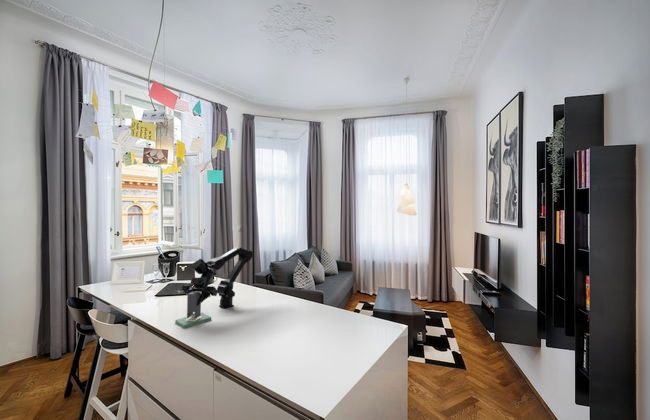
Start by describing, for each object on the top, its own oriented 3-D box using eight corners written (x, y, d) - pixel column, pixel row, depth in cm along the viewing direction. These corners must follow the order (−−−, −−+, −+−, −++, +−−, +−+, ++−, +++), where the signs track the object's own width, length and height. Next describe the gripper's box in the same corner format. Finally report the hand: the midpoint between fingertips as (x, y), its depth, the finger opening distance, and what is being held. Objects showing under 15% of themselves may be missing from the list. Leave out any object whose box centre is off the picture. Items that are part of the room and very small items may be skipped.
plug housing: (191, 315, 141) (192, 291, 141) (200, 315, 140) (201, 292, 141) (186, 317, 137) (187, 293, 137) (195, 318, 136) (196, 294, 137)
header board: (201, 315, 147) (202, 308, 147) (211, 319, 141) (211, 312, 141) (175, 323, 136) (175, 315, 136) (184, 328, 130) (184, 320, 130)
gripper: (183, 270, 144) (168, 296, 133) (215, 271, 142) (202, 298, 131) (192, 280, 152) (178, 306, 141) (222, 282, 149) (211, 309, 138)
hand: (192, 305), depth 137 cm, fingers closed on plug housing, 5 cm apart
